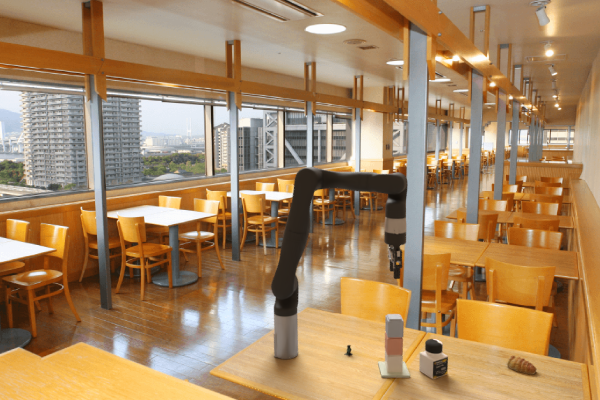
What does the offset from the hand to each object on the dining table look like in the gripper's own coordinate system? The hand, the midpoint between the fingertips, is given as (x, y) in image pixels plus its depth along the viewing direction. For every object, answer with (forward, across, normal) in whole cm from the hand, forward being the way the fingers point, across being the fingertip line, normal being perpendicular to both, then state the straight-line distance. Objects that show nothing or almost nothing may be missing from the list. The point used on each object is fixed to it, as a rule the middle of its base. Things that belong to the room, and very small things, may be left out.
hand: (394, 274), depth 160 cm
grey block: (+22, 0, 0) cm, 22 cm away
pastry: (+37, -2, +46) cm, 59 cm away
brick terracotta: (+29, 0, 0) cm, 29 cm away
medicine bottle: (+36, +2, +14) cm, 39 cm away
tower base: (+36, 0, 0) cm, 36 cm away
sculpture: (+37, -12, -16) cm, 42 cm away
